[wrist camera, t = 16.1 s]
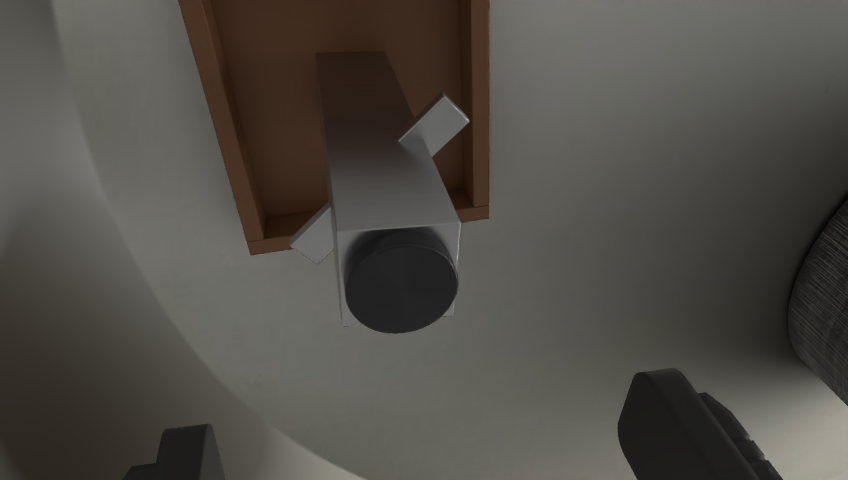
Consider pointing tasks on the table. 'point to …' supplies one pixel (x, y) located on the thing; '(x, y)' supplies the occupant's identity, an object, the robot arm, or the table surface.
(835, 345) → the planter
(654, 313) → the table surface
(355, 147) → the grey square bar
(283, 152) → the tray
